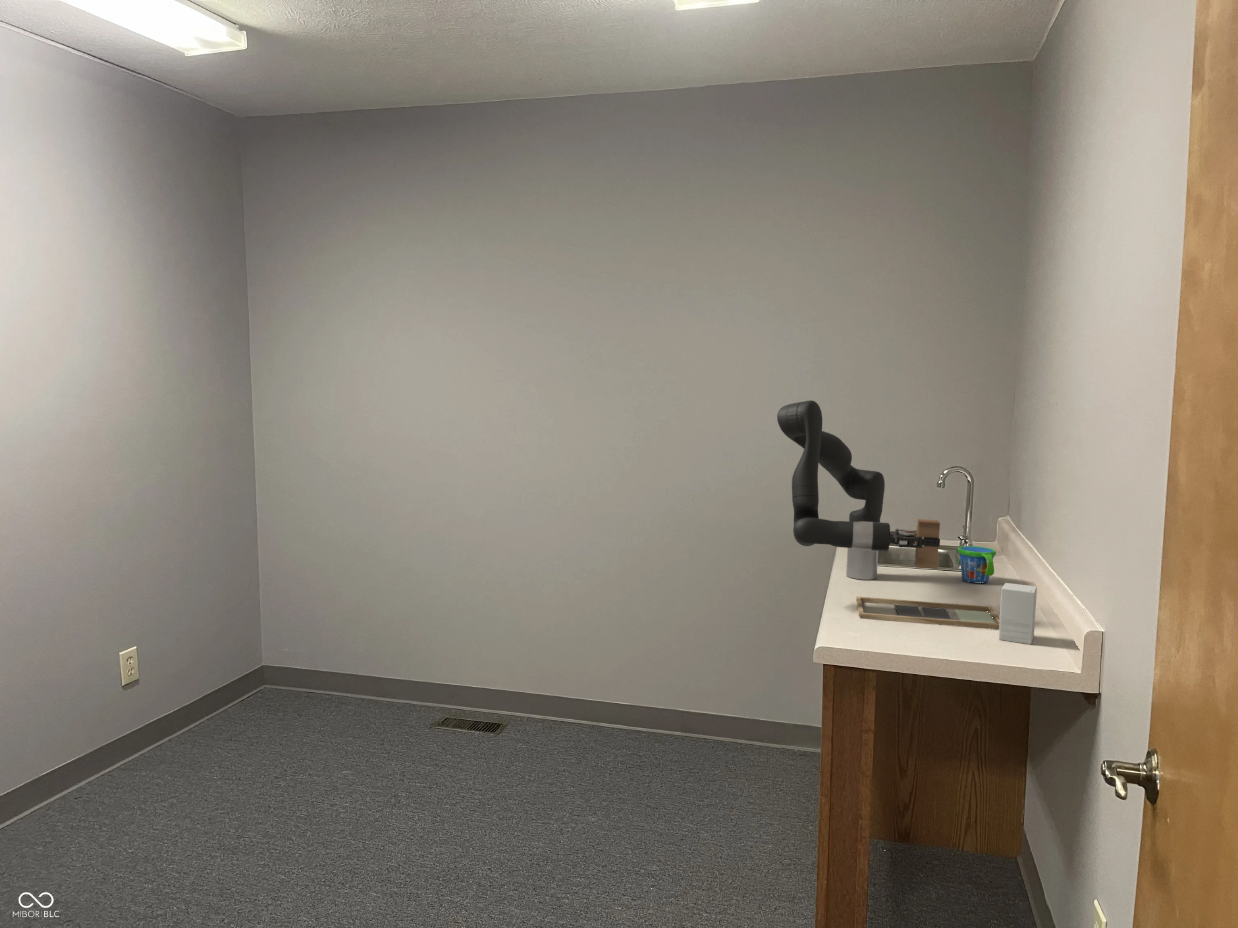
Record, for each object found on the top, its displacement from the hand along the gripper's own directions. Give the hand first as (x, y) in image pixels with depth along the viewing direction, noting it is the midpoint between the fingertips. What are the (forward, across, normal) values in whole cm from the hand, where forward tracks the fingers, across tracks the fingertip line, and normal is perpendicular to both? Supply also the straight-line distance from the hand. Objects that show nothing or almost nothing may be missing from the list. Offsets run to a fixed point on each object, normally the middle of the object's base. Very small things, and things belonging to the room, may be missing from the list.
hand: (938, 540), depth 226 cm
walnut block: (-3, 0, +7) cm, 7 cm away
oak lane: (-2, 0, +20) cm, 20 cm away
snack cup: (+17, +45, +20) cm, 53 cm away
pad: (+10, 0, +20) cm, 22 cm away
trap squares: (-2, 0, +20) cm, 20 cm away
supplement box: (+17, -16, +20) cm, 31 cm away
